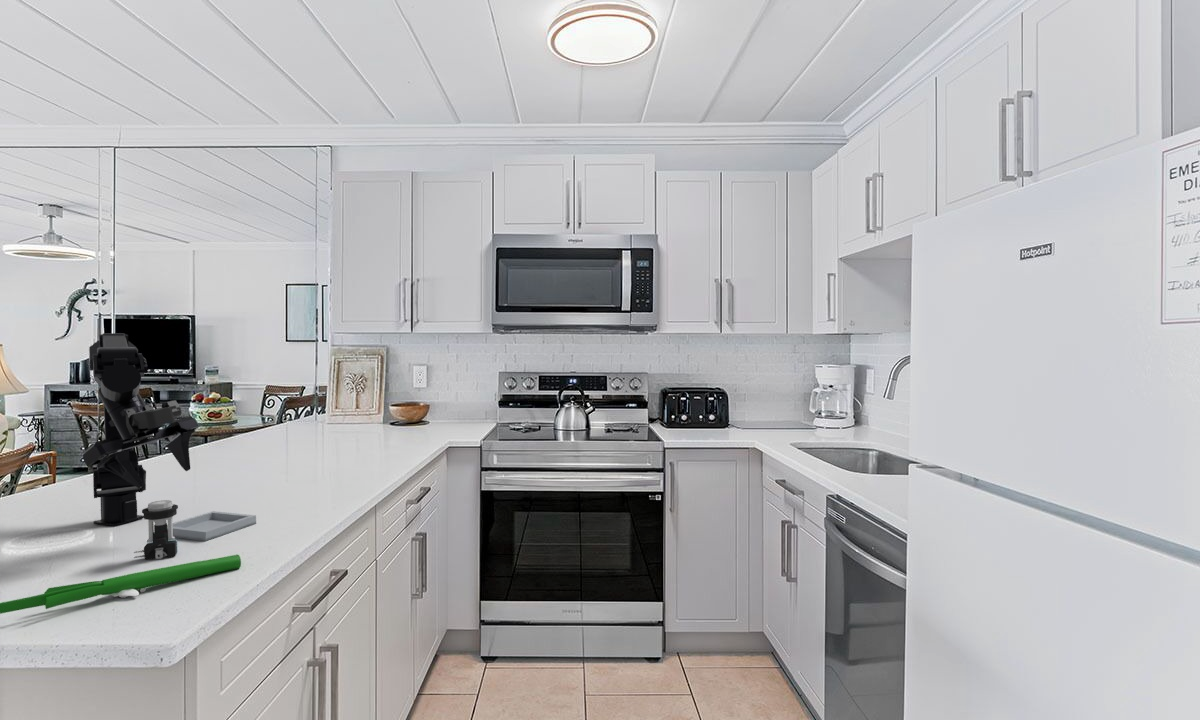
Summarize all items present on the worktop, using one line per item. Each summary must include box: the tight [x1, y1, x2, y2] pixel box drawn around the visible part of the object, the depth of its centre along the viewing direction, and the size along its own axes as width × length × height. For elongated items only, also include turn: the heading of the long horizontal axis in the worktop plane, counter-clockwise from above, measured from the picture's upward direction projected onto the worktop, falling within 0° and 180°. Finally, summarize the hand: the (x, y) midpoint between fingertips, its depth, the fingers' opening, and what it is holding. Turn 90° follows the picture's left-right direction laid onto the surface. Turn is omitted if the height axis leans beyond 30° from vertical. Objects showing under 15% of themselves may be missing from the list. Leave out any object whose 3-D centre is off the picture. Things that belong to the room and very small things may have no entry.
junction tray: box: [167, 510, 257, 542], centre depth 127 cm, size 12×12×2 cm
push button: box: [133, 499, 179, 561], centre depth 111 cm, size 7×5×10 cm
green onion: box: [0, 554, 242, 614], centre depth 95 cm, size 5×3×30 cm
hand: (165, 478), depth 118 cm, fingers open, 9 cm apart
